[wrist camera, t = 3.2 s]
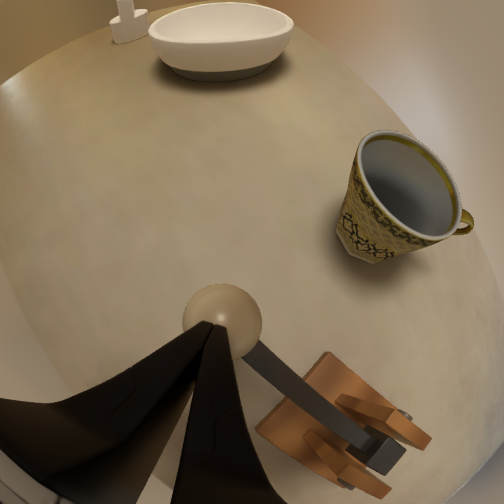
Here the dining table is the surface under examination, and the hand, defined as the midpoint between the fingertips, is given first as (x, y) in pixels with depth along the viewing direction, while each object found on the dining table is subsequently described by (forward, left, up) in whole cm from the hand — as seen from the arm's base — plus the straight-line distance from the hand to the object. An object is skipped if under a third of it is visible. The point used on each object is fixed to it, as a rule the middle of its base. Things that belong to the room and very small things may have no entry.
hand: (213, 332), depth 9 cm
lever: (+1, -5, -6) cm, 8 cm away
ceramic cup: (+18, -4, -14) cm, 23 cm away
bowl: (+30, +32, -14) cm, 46 cm away
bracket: (+1, -12, -14) cm, 19 cm away
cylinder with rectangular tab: (+28, +61, -14) cm, 68 cm away
